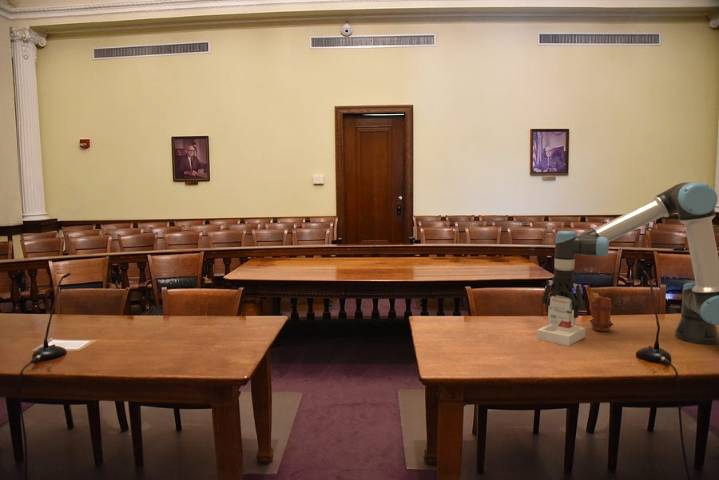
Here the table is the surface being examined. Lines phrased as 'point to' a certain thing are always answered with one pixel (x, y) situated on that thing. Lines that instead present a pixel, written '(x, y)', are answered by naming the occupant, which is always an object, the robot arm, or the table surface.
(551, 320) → the ink box
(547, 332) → the tray
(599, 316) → the mug
